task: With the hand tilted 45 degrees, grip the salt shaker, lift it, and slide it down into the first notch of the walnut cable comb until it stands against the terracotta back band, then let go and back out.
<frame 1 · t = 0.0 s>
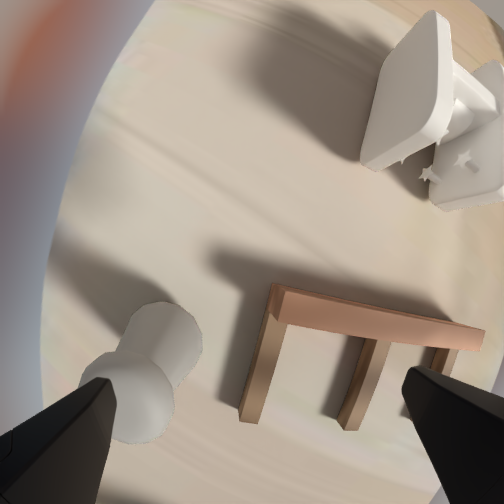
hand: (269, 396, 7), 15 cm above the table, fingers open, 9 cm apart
salt shaker: (169, 331, 22), on the table
cable organizer: (409, 132, 25), on the table
cable comb: (317, 359, 23), on the table
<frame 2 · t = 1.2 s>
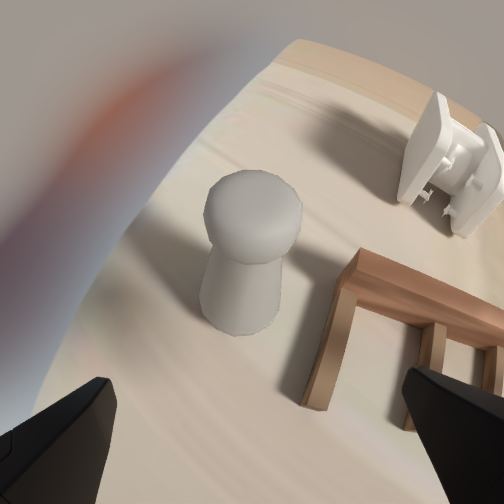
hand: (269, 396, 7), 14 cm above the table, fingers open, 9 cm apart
salt shaker: (238, 308, 23), on the table
cable organizer: (430, 192, 33), on the table
cable comb: (381, 354, 22), on the table
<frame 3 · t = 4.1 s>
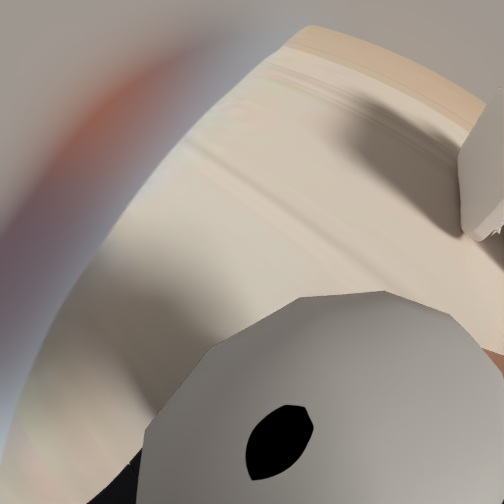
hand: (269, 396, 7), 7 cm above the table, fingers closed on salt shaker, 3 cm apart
salt shaker: (250, 429, 12), on the table, touching gripper
cable organizer: (489, 217, 23), on the table
when the fingers open (8 cm above the table, at t = 8.3 s): salt shaker drops 1 cm, on the table.
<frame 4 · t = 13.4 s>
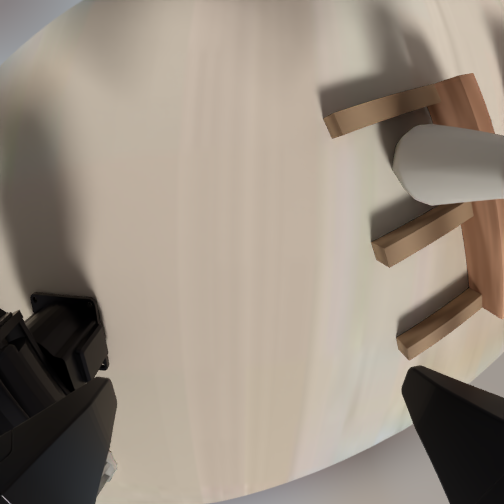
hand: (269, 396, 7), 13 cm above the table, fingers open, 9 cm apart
salt shaker: (411, 164, 20), on the table
grey lattice tower: (67, 446, 24), on the table
cable comb: (415, 164, 19), on the table
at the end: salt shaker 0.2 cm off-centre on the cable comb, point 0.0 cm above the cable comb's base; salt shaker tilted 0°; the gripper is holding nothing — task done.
